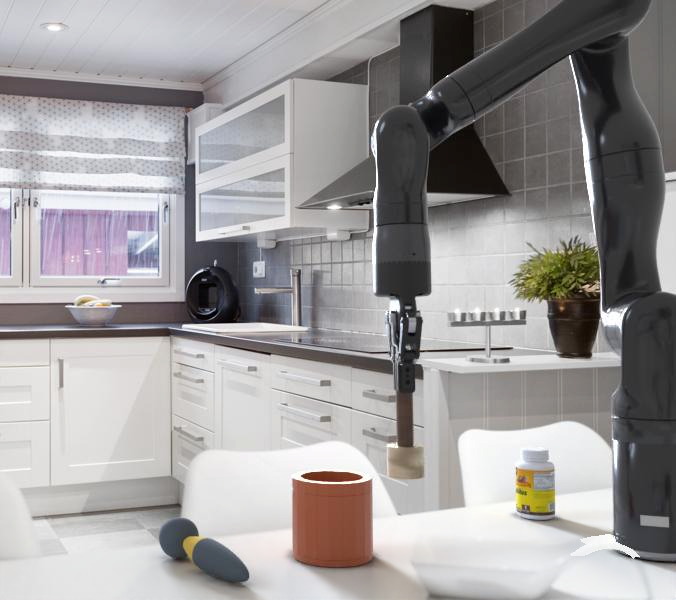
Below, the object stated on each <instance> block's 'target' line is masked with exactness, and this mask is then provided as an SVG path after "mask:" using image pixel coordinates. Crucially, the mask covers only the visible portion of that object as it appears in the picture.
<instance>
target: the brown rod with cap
mask: <svg viewBox="0 0 676 600" xmlns="http://www.w3.org/2000/svg"><path fill="white" fill-rule="evenodd" d="M395 377H396V391H395V418H396V419H395V421H396V423H395V425H396V443H395V442H394V443H388V444H387V445H386V473H387V474H386V475H387V477H388V478H391V479H396V480H419V479H424V478H425V477H426V471H425V469H426V467H425V463H426V462H425V445H424V444H420V443H415V432H414V431H415V430H414V429H415V426H414V425H415V423H414V392H413V393H400V392H398V390H397V362H396V354H395Z"/></svg>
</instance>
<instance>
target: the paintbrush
mask: <svg viewBox="0 0 676 600" xmlns="http://www.w3.org/2000/svg"><path fill="white" fill-rule="evenodd" d="M158 543H159V546H160V548H161V550H162V551H163V553H164V554H165V555H166V556H168V557H170V558H173V559H184V558H189V559H190V560H191V562H192V564H193V565H194V566H195V567H197V568H198V569H199V570H201V571H203V572H205V574H208V575H210V576H213V577H215V578H218V579H220V580H223V581H227V582H230V583H231V582H232V583H238V584H239V583H241V584H242V583H245V582H247V581H248V580H249V579H250V571H249V569H248V567H247V566H246V564H245V563H244V562H243V561H242V559H241V558H240V557H239V556H238V555H236V553H234V551H232V550H231V549H230V548H229V547H226V545H224V544H222V543H220V542H219V541H217V540H215V539H213V538H210V537H205V536H200V533H199V529H198V527H197V525H196V524H195V523H194V522H193V521H192V520H191V519H188V518H187V517H179V516H178V517H173V518H170V519H168V520H166V521H165V522H164V523H163V524H161V526H160V529H159V532H158Z"/></svg>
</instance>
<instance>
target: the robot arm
mask: <svg viewBox="0 0 676 600" xmlns="http://www.w3.org/2000/svg"><path fill="white" fill-rule="evenodd" d="M652 4H653V0H560V1H559V2H558V3H557V4H555V5H554V6H553V7H552V8H550V9H549V10H547V11H546V12H544V14H542V15H541V16H539V17H538V18H537V19H535V20H533V21H532V22H531V23H530V24H527V26H525V27H524V28H522V29H521V30H519V31H518V32H516V33H514V34H513V35H511V36H510V37H508V38H506V39H505V40H503V41H501V42H500V43H498V44H497V45H495V46H493V47H492V48H490V49H489V50H487V51H485V52H483V53H482V54H480V55H479V56H477V57H475V58H474V59H472V60H470V61H469V62H467V63H466V64H464V65H463V66H461V67H459V68H457V69H456V70H454V71H453V72H451V73H450V74H448V75H447V76H445V77H443V78H442V79H440V80H439V81H438V82H437V83H435V84H434V85H433V86H432V87H431V88H430V89H429V90H428V92H426V94H424V95H423V96H422V97H421V98H419V99H418V100H416V101H414V102H413V103H411V104H410V105H408V104H399V105H398V104H397V105H394V106H392V107H390V108H388V109H387V110H385V111H384V112H383V113H381V115H380V116H379V117H378V119H377V120H376V123H375V124H374V125H375V126H374V129H373V132H372V135H371V139H370V147H371V151H372V154H373V156H374V158H375V167H376V170H375V171H376V187H375V189H374V197H373V227H374V228H373V230H374V231H373V238H372V280H373V281H372V283H373V285H372V287H373V295H374V297H377V298H388V299H389V300H390V301H389V310H387V311H385V321H384V324H385V328H386V340H387V348H388V353H387V355H388V357H389V358H390V361H391V363H392V373H393V374H392V375H393V376H392V377H393V378H392V379H393V390H394V391H395V392H396V377H395V354H396V362H397V390H398V392H400V393H413V394H414V393H415V392H416V364H417V362H418V360H420V357H421V341H422V333H423V332H422V330H423V323H424V320H423V317H422V315H421V310H418V309H417V307H418V306H417V300H416V298H421V297H428V296H430V295H431V294H432V291H433V290H432V251H431V250H432V248H431V236H430V231H429V206H428V205H429V201H428V193H427V192H428V190H427V182H428V181H427V180H428V171H429V159H430V152H431V151H432V150H434V148H437V146H438V145H440V144H441V143H443V142H444V141H445V140H447V139H448V138H449V137H450V136H452V135H453V134H455V133H456V132H458V131H460V130H462V129H464V128H466V127H467V126H469V125H471V124H473V123H474V122H476V121H478V120H479V119H481V118H482V117H484V116H485V115H487V114H489V113H491V112H492V111H494V110H495V109H497V108H498V107H500V106H501V105H503V104H505V102H507V101H508V100H510V99H511V98H513V97H514V96H515V95H517V94H518V93H520V92H521V91H522V90H524V89H525V88H526V87H528V85H530V84H531V83H533V82H534V81H535V80H537V79H538V78H539V77H540V76H542V75H543V74H544V73H546V72H547V71H549V70H550V69H551V68H552V67H554V66H556V65H558V63H560V62H562V61H563V60H565V59H566V58H569V63H570V66H571V70H572V74H573V78H574V82H575V88H576V93H577V105H578V115H579V116H578V117H579V124H580V125H579V126H580V134H581V140H582V141H581V143H582V150H583V151H582V152H583V153H582V154H583V163H584V172H585V179H586V186H587V192H588V197H589V204H590V210H591V218H592V225H593V232H594V238H595V244H596V248H597V255H598V263H599V279H600V281H599V283H600V284H599V286H600V327H601V333H602V336H603V339H604V341H605V344H606V345H607V346H608V347H607V348H609V349H610V351H611V352H612V353H613V354H615V355H616V356H617V357H619V358H620V379H619V383H618V386H617V388H616V390H615V391H614V392H612V395H611V397H610V417H611V418H610V422H611V425H610V426H611V427H610V428H611V475H612V476H611V477H612V478H611V479H612V482H611V483H612V484H611V485H612V529H613V530H612V536H613V535H614V536H615V539H616V542H618V543H620V544H622V545H625V546H627V547H629V548H631V549H633V550H634V551H635V552H636V553H637V554H638V555H639V556H640V558H639V559H640V560H641V559H642V560H649V561H657V562H676V294H675V293H672V292H668V291H663V289H662V284H661V280H660V273H659V268H658V258H657V256H658V255H657V254H658V253H657V252H658V251H657V248H658V238H659V233H660V228H661V223H662V217H663V212H664V207H665V201H666V190H667V184H666V183H667V181H666V172H665V165H664V158H663V150H662V144H661V138H660V135H659V132H658V129H657V127H656V125H655V122H654V120H653V118H652V117H651V115H650V113H649V111H648V109H647V108H646V106H645V104H644V102H643V101H642V98H641V97H640V94H639V93H638V91H637V88H636V86H635V81H634V78H633V71H632V61H631V59H632V58H631V47H630V46H631V44H630V42H631V41H630V37H631V33H632V32H633V31H635V30H636V29H637V28H638V27H639V26H640V25H641V23H642V22H643V21H644V20H645V18H646V16H647V15H648V13H649V12H650V9H651V6H652ZM615 551H616V552H618V553H620V554H622V555H625V556H628V555H627V554H626V553H625V552H623V551H620V550H615Z"/></svg>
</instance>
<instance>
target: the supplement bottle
mask: <svg viewBox="0 0 676 600" xmlns="http://www.w3.org/2000/svg"><path fill="white" fill-rule="evenodd" d="M549 455H550V454H549V449H547V448H544V447H538V446H537V447H532V446H530V447H529V446H528V447H526V446H525V447H521V448H520V459H519V460H517V461H516V463H515V500H516V501H515V507H516V508H515V509H516V514H517V515H518V516H519V517H521V518H523V519H526V520H527V519H528V520H536V521H545V520H546V521H547V520H551V519H554V517H555V516H556V486H555V485H556V473H555V472H556V469H555V468H556V467H555V463H553V462H552V461H549V460H550V456H549Z"/></svg>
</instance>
